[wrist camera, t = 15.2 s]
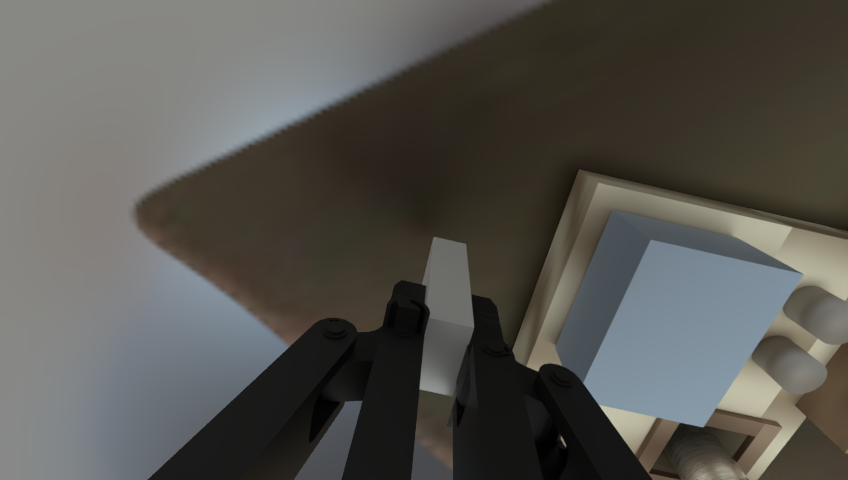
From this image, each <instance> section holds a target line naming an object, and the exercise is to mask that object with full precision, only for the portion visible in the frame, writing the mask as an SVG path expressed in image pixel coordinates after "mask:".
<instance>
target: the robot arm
mask: <svg viewBox="0 0 848 480" xmlns="http://www.w3.org/2000/svg"><path fill="white" fill-rule="evenodd" d="M499 322H500V321H499V316H498V311H497V307H496V306H495V304H494V303H493V302H492V301H491V299H489V298H485V297H480V296H475V295H471V289H470V279H469V269H468V259H467V249H466V244H464V243H460V242H455V241H451V240H446V239H442V238H437V237H433V242H432V246H431V250H430V254H429V258H428V262H427V266H426V271H425V275H424V279H423V283H422V285H421V284H416V283H412V282H407V281H403V280H401V281H400V282H399V283H397V284H396V285H395V286H394V289H393V293H392V297H391V300H390V301H389V302H388V303H387V308H386V313H385V317H384V322H383V326H381V327H380V328H379V329H377V330H375V331H371V332H357V329H356V328H355V326H354V325H353V324H352V323H350V322H348V321H346V320H343V319H339V318H326V319H322V320H320V321H318V322H316V323H315V324H314V325H313V326H312V327H311V328H309V329H308V330H307V331H306V332H305V333H304V334H303V335H302V336H301V337H300V338H299V339H298V340H297V341H296V342H294V343H293V344H292V345H291V346H290V347H289V348H288V349H287V350H286V351H285V352H284V353H283V354H282V355H281V356H279V358H277V359H276V360H275V361H274V362H273V363H272V364H271V365H270V366H269V367H268V368H267V369H266V370H265V371H263V372H262V373H261V374H260V375H259V376H258V377H257V378H256V379H255V380H254V381H253V382H252V383H251V384H250V385H249V386H247V387H246V388H245V389H244V390H243V391H242V392H241V393H240V394H239V395H238V396H237V397H236V398H235V399H234V400H233V401H231V402H230V403H229V404H228V405H227V406H226V407H225V408H224V409H223V410H222V411H221V412H220V413H219V414H217V415H216V416H215V417H214V418H213V419H212V420H211V421H210V422H209V423H208V424H207V425H206V426H205V427H204V428H203V429H201V430H200V431H199V432H198V433H197V434H196V435H195V436H194V437H193V438H192V439H191V440H190V441H189V442H188V443H186V444H185V445H184V446H183V447H182V448H181V449H180V450H179V451H178V452H177V453H176V454H175V455H174V456H173V457H172V458H170V460H168V461H167V462H166V463H165V464H164V465H163V466H162V467H161V468H160V469H159V470H158V471H157V472H155V473H154V474H153V475H152V476H151V477H150V478H149V479H148V480H294V478H295V477H296V475H297V474H298V473H299V471H300V470H301V468H302V467H303V465H304V464H305V462H306V461H307V459H308V458H309V456H310V455H311V453H312V452H313V451H314V449H315V448H316V446H317V445H318V443H319V442H320V440H321V439H322V437H323V436H324V434H325V433H326V431H327V430H328V428H329V427H330V426H331V424H332V422H333V421H334V420H335V418H336V417H337V415H338V414H339V412H340V411H341V409H342V408H343V406H344V403H345V401H361V400H363V402H362V405H361V409H360V413H359V417H358V420H357V425H356V428H355V432H354V435H353V439H352V443H351V447H350V450H349V454H348V458H347V462H346V465H345V469H344V473H343V476H342V480H411V473H412V462H413V451H414V441H415V431H416V420H417V409H418V399H419V389H421V390H425V391H430V392H435V393H440V394H444V395H449V396H453V394H454V391H455V387H456V384H457V396H456V399H455V402H454V405H453V408H452V411H451V414H450V418H449V421H448V424H447V426H448V427H451V424H452V421H453V480H653V479H652V478H651V477H650V475H649V474H648V472H647V471H646V470H645V468H644V467H643V466H642V464H641V463H640V461H639V460H638V459H637V457H636V456H635V454H634V453H633V452H632V450H631V449H630V448H629V446H628V445H627V443H626V442H625V441H624V439H623V438H622V436H621V435H620V434H619V432H618V431H617V429H616V428H615V427H614V425H613V424H612V423H611V421H610V420H609V418H608V417H607V416H606V414H605V413H604V411H603V410H602V409H601V407H600V406H599V404H598V403H597V402H596V400H595V399H594V398H593V396H592V395H591V393H590V392H589V391H588V389H587V388H586V386H585V385H584V384H583V382H582V381H581V379H580V378H579V377H578V376H577V375H576V374H575V373H573V372H572V371H570V370H569V369H568V368H566V367H563V366H561V365H558V364H552V363H548V364H544V365H542V366H541V367H540V368H539V371H535V370H533V369H531V368H529V367H526V366H524V365H522V364H520V363H519V362H517V361H516V360H515V356H514V353H513V351H512V349H511V348H510V347H509V346H508V345H507V344H506V343H504V340H503V335H502V331H501V326H500V323H499ZM561 437H562V438H563V440H564V442H565V444H566V447H565V445H564V444H563V442H562V440H561Z"/></svg>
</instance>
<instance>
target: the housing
mask: <svg viewBox="0 0 848 480" xmlns="http://www.w3.org/2000/svg"><path fill="white" fill-rule="evenodd" d="M803 275H804V274H802V273H801V272H799V271H797V270H795V269H793V268H792V267H790V266H788V265H786V264H784V263H782V262H781V261H779V260H777V259H775V258H773V257H771V256H770V255H768V254H766V253H764V252H762V251H761V250H759V249H757V248H755V247H753V246H751V245H750V244H748V243H746V242H744V241H742V240H741V239H739V238H737V237H732V236H728V235H724V234H719V233H715V232H710V231H706V230H702V229H697V228H693V227H689V226H684V225H680V224H675V223H671V222H667V221H662V220H658V219H653V218H649V217H645V216H640V215H636V214H631V213H627V212H623V211H618V210H614V209H613V210H612V212H611V214H610V217H609V219H608V222H607V224H606V226H605V229H604V231H603V234H602V236H601V238H600V241H599V243H598V246H597V248H596V250H595V253H594V255H593V257H592V260H591V262H590V265H589V267H588V269H587V272H586V274H585V277H584V279H583V281H582V284H581V286H580V289H579V291H578V293H577V296H576V298H575V301H574V303H573V305H572V308H571V310H570V313H569V315H568V317H567V320H566V322H565V324H564V327H563V329H562V332H561V334H560V336H559V339H558V341H557V344H556V346H555V349H556V351H557V354H558V356H559V359H560V361H561V364H562V366H563V367H566V368H568V369H569V370H570V371H572V372H573V373H575V374H576V375H577V376H578V377H579V378H580V379H581V381H582V382H583V384H584V385H585V386H586V388H587V389H588V391H589V392H590V393H591V395H592V396H593V398H594V399H595V400H596V402H597V403H598V404H599V405H602V406H607V407H611V408H616V409H620V410H625V411H629V412H634V413H639V414H643V415H648V416H652V417H657V418H662V419H666V420H671V421H675V422H680V423H685V424H689V425H694V426H698V427H704V426H705V424H706V423H707V421H708V420H709V418H710V417H711V415H712V414H713V412H714V411H715V409H716V407H717V406H718V404H719V403H720V401H721V400H722V398H723V397H724V395H725V394H726V392H727V391H728V389H729V388H730V386H731V385H732V383H733V382H734V380H735V379H736V377H737V376H738V374H739V372H740V371H741V369H742V368H743V366H744V365H745V363H746V362H747V360H748V359H749V357H750V356H751V354H752V353H753V351H754V350H755V348H756V347H757V345H758V344H759V342H760V341H761V339H762V337H763V336H764V334H765V333H766V331H767V330H768V328H769V327H770V325H771V324H772V322H773V321H774V319H775V318H776V316H777V315H778V313H779V312H780V310H781V309H782V307H783V306H784V304H785V303H786V301H787V299H788V298H789V296H790V295H791V293H792V292H793V290H794V289H795V287H796V286H797V284H798V283H799V281H800V280H801V278H802V277H803Z"/></svg>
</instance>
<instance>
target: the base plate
mask: <svg viewBox="0 0 848 480" xmlns="http://www.w3.org/2000/svg"><path fill="white" fill-rule="evenodd" d="M613 209H614V210H618V211H623V212H627V213H631V214H636V215H640V216H645V217H649V218H653V219H658V220H662V221H667V222H671V223H675V224H680V225H684V226H689V227H693V228H697V229H702V230H706V231H710V232H715V233H719V234H724V235H728V236H732V237H737V238H739V239H741V240H742V241H744V242H746V243H748V244H750V245H751V246H753V247H755V248H757V249H759V250H761V251H762V252H764V253H766V254H768V255H770V256H771V257H773V258H775V259H777V260H779V261H781V262H782V263H784V264H786V265H788V266H790V267H792V268H793V269H795V270H797V271H799V272H801V273H802V274H804V275H803V277H802V278H801V280H800V281H799V283H798V284H797V286H796V287H795V289H794V290H793V292H792V293H791V295H790V296H789V298H788V299H787V301H786V303H785V304H784V306H783V307H782V309H781V310H780V312H779V313H778V315H777V316H776V318H775V319H774V321H773V322H772V324H771V325H770V327H769V328H768V330H767V331H766V333H765V334H764V336H763V337H762V339H761V341H760V342H759V344H758V345H757V347H756V348H755V350H754V351H753V353H752V354H751V356H750V357H749V359H748V360H747V362H746V363H745V365H744V366H743V368H742V369H741V371H740V372H739V374H738V376H737V377H736V379H735V380H734V382H733V383H732V385H731V386H730V388H729V389H728V391H727V392H726V394H725V395H724V397H723V398H722V400H721V401H720V403H719V404H718V406H717V407H716V409H715V411H714V412H713V414H712V415H711V417H710V418H709V420H708V421H707V423H706V424H705V426H710V428H711V429H712V431H713V432H714V433H715V435H716V436H717V437H718V439H719V440H720V441H721V443H722V444H723V445H724V447H725V448H726V449H727V451H728V452H729V453H730V455H731V456H732V457H733V459H734V460H735V461H736V463H737V464H738V465H739V467H740V468H741V469H742V471H743V472H744V473H745V475H746V476H747V477H748V479H749V480H758V478H759V477H760V476H761V475H762V473H763V472H764V471H765V470H766V468H767V467H768V466H769V464H770V463H771V462H772V461H773V459H774V458H775V457H776V455H777V454H778V453H779V452H780V450H781V449H782V448H783V447H784V445H785V444H786V443H787V441H788V440H789V439H790V438H791V436H792V435H793V434H794V432H795V431H796V430H797V429H798V427H799V426H800V425H801V424H802V422H803V421H804V420H805V418H806V417H807V418H808V419H809V420H810V421H812V422H813V423H814V424H815V425H816V426H817V427H818V428H819V429H820V430H821V431H822V432H823V433H824V434H825V435H826V436H827V437H828V438H829V439H831V440H832V441H833V442H834V443H835V444H836V445H837V446H838V447H839V448H840V449H841V450H842V451H843V452H844V453H848V231H846V230H841V229H837V228H833V227H828V226H824V225H820V224H815V223H811V222H807V221H802V220H798V219H794V218H789V217H785V216H780V215H776V214H772V213H767V212H763V211H759V210H754V209H750V208H746V207H741V206H737V205H733V204H728V203H724V202H719V201H715V200H711V199H706V198H702V197H698V196H693V195H689V194H685V193H680V192H676V191H672V190H667V189H663V188H658V187H654V186H650V185H645V184H641V183H637V182H632V181H628V180H624V179H619V178H615V177H611V176H606V175H602V174H597V173H593V172H589V171H584V170H580V169H579V171H578V173H577V176H576V179H575V181H574V184H573V187H572V190H571V192H570V195H569V198H568V200H567V203H566V206H565V209H564V211H563V214H562V217H561V219H560V222H559V225H558V228H557V230H556V233H555V236H554V238H553V241H552V244H551V247H550V249H549V252H548V255H547V257H546V260H545V263H544V266H543V268H542V271H541V274H540V276H539V279H538V282H537V285H536V287H535V290H534V293H533V295H532V298H531V301H530V304H529V306H528V309H527V312H526V314H525V317H524V320H523V323H522V325H521V328H520V331H519V333H518V336H517V339H516V342H515V344H514V347H513V350H512V351H513V353H514V356H515V360H516V361H517V362H519V363H520V364H522V365H524V366H526V367H529V368H531V369H533V370H535V371H539V368H540V367H541V366H542V365H544V364H548V363H552V364H558V365H561V366H562V364H561V361H560V359H559V356H558V354H557V351H556V349H555V346H556V344H557V341H558V339H559V336H560V334H561V332H562V329H563V327H564V324H565V322H566V320H567V317H568V315H569V313H570V310H571V308H572V305H573V303H574V301H575V298H576V296H577V293H578V291H579V289H580V286H581V284H582V281H583V279H584V277H585V274H586V272H587V269H588V267H589V265H590V262H591V260H592V257H593V255H594V253H595V250H596V248H597V246H598V243H599V241H600V238H601V236H602V234H603V231H604V229H605V226H606V224H607V222H608V219H609V217H610V214H611V212H612V210H613ZM599 406H600V407H601V409H602V410H603V411H604V413H605V414H606V416H607V417H608V418H609V420H610V421H611V423H612V424H613V425H614V427H615V428H616V429H617V431H618V432H619V434H620V435H621V436H622V438H623V439H624V441H625V442H626V443H627V445H628V446H629V448H630V449H631V450H632V452H633V453H634V454H635V456H636V457H637V459H638V460H639V461H640V463H641V464H642V466H643V467H644V468H645V470H646V471H647V472H648V474H649V475H650V477H651V478H652V479H653V480H681V478H680V476H679V475H678V473H677V471H676V469H675V468H674V466H673V464H672V462H671V461H670V459H669V457H668V455H667V454H666V452H665V450H664V448H665V446H666V444H667V443H668V441H669V440H670V438H671V436H672V435H673V433H674V431H675V430H676V428H677V427H678V425H679V423H680V422H675V421H671V420H666V419H662V418H657V417H652V416H648V415H643V414H639V413H634V412H629V411H625V410H620V409H616V408H611V407H607V406H602V405H599ZM561 440H562V442H563V444H564V445H565V447H566V444H565V442H564V440H563V438H562V437H561Z"/></svg>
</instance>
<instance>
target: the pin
mask: <svg viewBox="0 0 848 480" xmlns="http://www.w3.org/2000/svg"><path fill="white" fill-rule="evenodd" d="M664 450H665V452H666V454H667V455H668V457H669V459H670V461H671V462H672V464H673V466H674V468H675V469H676V471H677V473H678V475H679V476H680V478H681V480H749V479H748V477H747V476H746V475H745V473H744V472H743V471H742V469H741V468H740V467H739V465H738V464H737V463H736V461H735V460H734V459H733V457H732V456H731V455H730V453H729V452H728V451H727V449H726V448H725V447H724V445H723V444H722V443H721V441H720V440H719V439H718V437H717V436H716V435H715V433H714V432H713V431H712V429H711V428H710V426H704V427H698V426H694V425H689V424H685V423H679V425H678V427H677V428H676V430H675V431H674V433H673V435H672V436H671V438H670V440H669V441H668V443H667V444H666V446H665V448H664Z"/></svg>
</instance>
